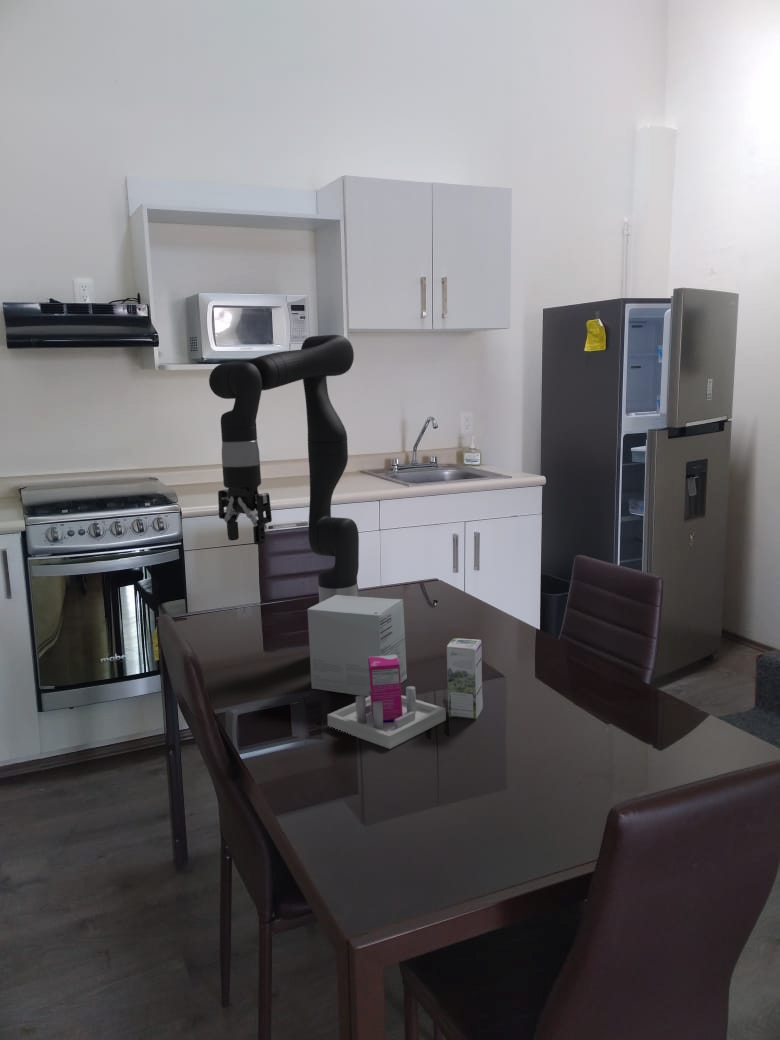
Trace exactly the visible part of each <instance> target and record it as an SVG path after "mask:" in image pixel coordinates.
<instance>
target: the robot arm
mask: <svg viewBox="0 0 780 1040" xmlns="http://www.w3.org/2000/svg"><path fill="white" fill-rule="evenodd" d="M354 355H355V352H354V348H353V345H352V343H351V342H350V340H349V339H347V337H346V336H343V335H341V334H340V335H339V334H328V335H327V334H326V335H314V336H313V335H312V336H309V337H306V338H305V340H303V343H302V345H301V347H300V349H292V350H284V351H277V352H273V353H268V354H264V355H259V356H257V357H254V358H250V359H243V360H237V361H235V360H234V361H230V362H224V363H220V364H218V365H217V366H215V367H214V368H213V369H212V370H211V372H210V374H209V379H208V383H209V384H208V385H209V388H210V390H211V391H212V392H213V394H214V395H215V396H217V397H219V398H221V399H224V400H225V399H226V400H228V399H229V400H231V399H232V400H233V399H235V400H234V402H233V403H234V404H233V407H232V409H231V410H229V411H226V412H224V413H223V414H222V415H221V416H220V417H221V418H220V431H221V463H222V464H221V465H222V477H223V478H222V479H223V481H222V482H223V487H224V488H226V489H221V490H218V491H217V497H218V500H217V501H218V502H217V503H218V518H219V519H220V520H222V519H223V520H224V522H225V523H226V531H227V538H228V541H232V542H233V541H236V540H238V539H239V538H240V535H239V534H240V533H239V522H238V518H239V516H240V515H241V514H244V515H245V516H246V517H247V518H248V519H250V521H251V522H252V525H253V527H252V530H253V544H254V545H257V546H259V545H263V544H265V542H266V529H265V528H266V526H265V525H266V524H269V523H272V521H273V519H272V518H273V517H272V510H271V500H270V498H271V497H270V494H269V493H268V492H264V493H259V490H258V487H259V486H260V485H261V484H262V475H261V473H262V472H261V461H260V459H261V458H260V449H259V443H258V436H257V435H258V430H257V415H258V411H259V407H260V406H259V405H260V400H261V395H262V391H268V390H272V389H275V388H280V387H282V386H286V385H288V384H291V383H294V382H295V383H296V382H299V381H301V380H302V383H303V390H304V398H305V407H306V422H307V424H306V425H307V453H308V454H307V455H308V469H309V511H308V513H309V514H308V533H307V534H308V542H309V547H310V549H311V552H313V554H316V555H318V556H326V557H327V556H328V557H335V558H334V566H333V567H330V568H327V569H324V570H321V572H319V573H318V577H317V581H318V583H317V585H318V601H319V602H318V603H320V602H322V601H325V600H327V599H329V598H331V597H333V596H335V595H344V596H357V597H359V595H358V573H359V566H360V565H359V562H360V561H359V560H360V557H359V555H360V553H359V552H360V551H359V550H360V549H359V548H360V539H359V538H360V536H359V529H358V528H359V527H358V526H357V523H356V522H355V521H354V520H353V519H351V518H349V517H335V516H333V517H332V511H331V510H332V497H333V494H334V491H335V489H336V487H337V485H338V484H339V481H340V479H341V478H342V476H343V474H344V472H345V470H346V468H347V465H348V461H349V459H348V458H349V453H348V452H349V451H348V446H349V445H348V433H347V431H346V428H345V425H344V424H343V422H342V420H341V418H340V416H339V414H338V413H337V412H336V409H335V408H334V407H333V404H332V402H331V399H330V395H329V391H328V383H327V381H328V380H327V377H336V376H342V375H344V374H346V373H348V372H349V371H350V370H351V367H352V366H353V363H354V360H355V356H354ZM225 508H226V509H225ZM264 512H265V514H264Z"/></svg>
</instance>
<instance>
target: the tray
mask: <svg viewBox="0 0 780 1040" xmlns="http://www.w3.org/2000/svg"><path fill="white" fill-rule="evenodd" d="M401 697H402V713H403V716H401V717H399V718H397V719H395V720H394V722H388V723H383V703H382V701H374V702H373V715H372V711H371V698H370V696H369V697H367V696H362V695H361V696H360V695H356V696H355V702H353V703H351V704H349V705H346V706H344V707H341V708H339V709H337V710H335V711H333V712H330V713H328V714H327V715H326V716H327V727H328V726H330V727H329V728H331V727H333V728H335V729H334V730H336V729H338V730H337V731H339V730H341V731H340V732H342V731H343V732H342V733H344V732H346V733H345V734H347V733H348V735H350V734H351V736H353V737H355V736H356V738H358V739H362V740H364V741H367V742H370V743H373V744H375V745H378V746H380V747H384V748H386V749H394V748H395V747H397V746H399V745H400V744H402V743H405V742H406V741H408V740H411V739H412V738H415V737H416V736H418V735H420V734H421V733H424V732H426V731H428V730H429V729H431V728H432V729H433V728H434V727H435V726H438V725H439V724H441V723H443V722H445V721H446V720H447V719H446V718H447V716H446V711H447V710H446V707H442V706H439V705H436V704H432V703H429V702H426V701H423V700H419V699H416V686H412V685H411V686H410V685H409V686H406V687H405V695H402V694H401ZM373 721H374V722H373ZM333 728H332V729H333Z"/></svg>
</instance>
